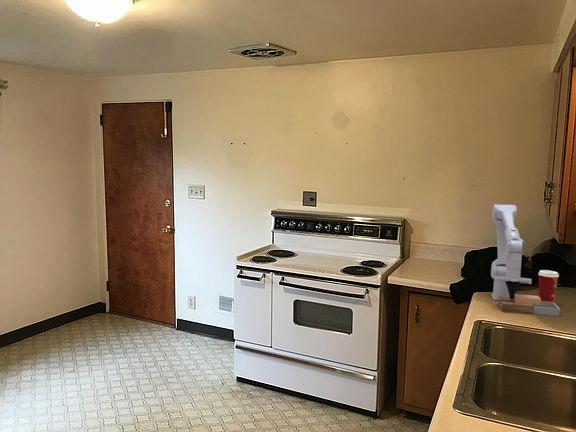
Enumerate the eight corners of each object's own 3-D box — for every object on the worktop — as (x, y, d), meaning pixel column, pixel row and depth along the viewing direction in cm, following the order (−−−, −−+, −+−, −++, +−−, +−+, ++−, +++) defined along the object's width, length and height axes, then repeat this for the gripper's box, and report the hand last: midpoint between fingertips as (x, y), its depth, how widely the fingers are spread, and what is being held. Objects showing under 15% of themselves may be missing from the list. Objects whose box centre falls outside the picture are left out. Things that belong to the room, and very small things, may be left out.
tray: (527, 306, 216) (528, 300, 215) (553, 308, 213) (553, 302, 213) (533, 314, 205) (533, 307, 205) (560, 316, 202) (560, 309, 202)
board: (497, 304, 219) (498, 296, 219) (527, 306, 216) (527, 298, 216) (502, 311, 208) (502, 303, 207) (533, 314, 205) (533, 306, 204)
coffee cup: (559, 307, 215) (561, 274, 213) (538, 306, 216) (541, 273, 215) (553, 302, 223) (555, 270, 221) (533, 301, 224) (535, 269, 223)
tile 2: (525, 300, 213) (525, 294, 212) (537, 301, 211) (538, 296, 211) (527, 303, 208) (528, 297, 208) (540, 304, 207) (541, 299, 206)
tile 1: (512, 299, 214) (513, 294, 214) (525, 300, 213) (525, 295, 212) (514, 302, 209) (515, 296, 209) (527, 303, 208) (528, 298, 208)
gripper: (496, 268, 208) (494, 299, 210) (534, 271, 205) (531, 302, 206) (494, 265, 215) (492, 295, 217) (530, 267, 211) (528, 298, 213)
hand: (511, 298), depth 212 cm, fingers closed
